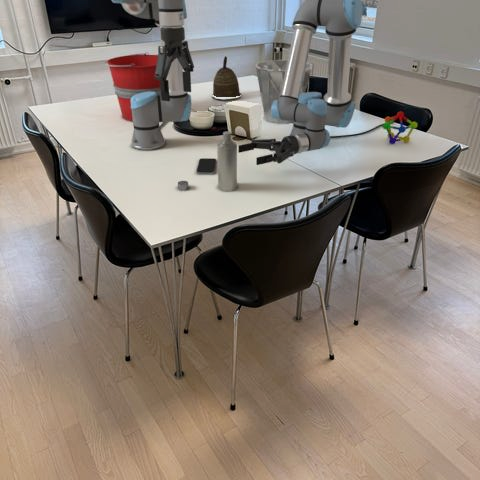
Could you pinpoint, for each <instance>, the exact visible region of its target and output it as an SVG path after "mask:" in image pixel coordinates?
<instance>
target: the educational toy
mask: <svg viewBox="0 0 480 480" xmlns="http://www.w3.org/2000/svg"><path fill="white" fill-rule="evenodd" d="M397 119H399V124H400V125H399V127H398V126H393V125H391V124H393V123H392V122H394V123H395V121H396V120H397ZM403 120H404V121H405V122H407V123H408V124H409V125H407V126H404V123H403ZM383 123H384V124H383ZM383 123H382V124H383V126H382V129H383V130H386V132H387V138H388V142H389V145H395V144H396V143H397V142H402V141H403V142H404V143H409V142H410V140H411V138H410V136H411V134H412V132H413V131H414V130H415V129H417V127H418V122H417V121H411V120H410V119H409V118H408V117H406V116H405V113H404V112H403V111H401V110H400V111H398V112H397V114H396V115H394V116H391V117H390V116H386V117H385V118H384V122H383ZM392 129H393V130H397V131H398V132H396V134H395V133H394V132H392ZM408 129H409V131H408V133H407V134H406V135H404V136H401V134H403V133H405V132H406V130H408ZM399 135H400V136H399Z"/></svg>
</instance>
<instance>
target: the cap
mask: <svg viewBox="0 0 480 480" xmlns="http://www.w3.org/2000/svg"><path fill="white" fill-rule="evenodd" d="M189 188H190V187H189V181H188V180H179V181H177V189H178V190H180V191H187V190H188V189H189Z"/></svg>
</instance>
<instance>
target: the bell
mask: <svg viewBox="0 0 480 480" xmlns="http://www.w3.org/2000/svg"><path fill="white" fill-rule="evenodd" d="M227 63H228V57H227V56H224V58H223V63H222V67H221V68H219V69H218V70H217V71H216V73H215V75H214V78H213V81H212V83H213V84H212V95H214V96H216V97H236V96H240V95H241V96H242V93H241V92H240V83H239V80H238V79H239V78H238V77H237V75H236V73H235V72H234V70H232V69H231V68H230V67H227Z"/></svg>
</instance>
